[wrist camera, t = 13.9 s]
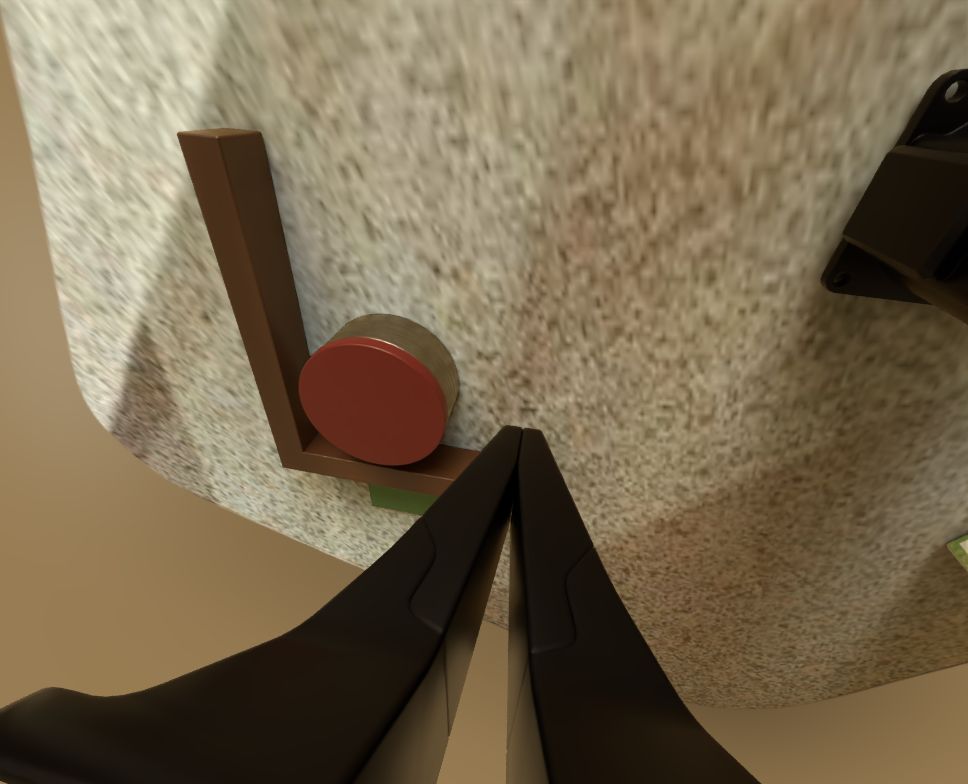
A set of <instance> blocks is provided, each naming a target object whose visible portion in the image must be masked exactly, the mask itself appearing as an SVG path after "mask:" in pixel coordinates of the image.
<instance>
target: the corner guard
mask: <svg viewBox="0 0 968 784" xmlns="http://www.w3.org/2000/svg"><path fill="white" fill-rule="evenodd" d="M177 136H178V139H179V143H180V146H181V149H182V152H183V155H184V158H185V161H186V164H187V168H188V171H189V174H190V177H191V180H192V183H193V186H194V190H195V193H196V196H197V199H198V202H199V205H200V208H201V211H202V215H203V218H204V221H205V224H206V227H207V230H208V233H209V237H210V240H211V243H212V246H213V249H214V252H215V255H216V258H217V262H218V265H219V268H220V271H221V274H222V277H223V280H224V284H225V287H226V290H227V293H228V296H229V299H230V302H231V305H232V309H233V312H234V315H235V318H236V321H237V324H238V327H239V331H240V334H241V337H242V340H243V343H244V346H245V349H246V352H247V356H248V359H249V362H250V365H251V368H252V371H253V374H254V378H255V381H256V384H257V387H258V390H259V393H260V396H261V399H262V403H263V406H264V409H265V412H266V415H267V418H268V421H269V425H270V428H271V431H272V434H273V437H274V440H275V443H276V446H277V450H278V454H279V457H280V460H281V463H282V466H283V467H284V468H289V469H295V470H300V471H305V472H310V473H316V474H321V475H326V476H332V477H337V478H342V479H348V480H353V481H358V482H363V483H369V484H374V485H379V486H385V487H390V488H395V489H401V490H406V491H411V492H416V493H422V494H427V495H432V496H438V497H439V496H440V495H441V494H442V493H443V492H444V491H445V490H446V489H447V488H448V487H449V486H450V484H451V483H452V482H453V481H454V480H455V479H456V478H457V477H458V476H459V475H460V474H461V472H462V471H463V470H464V469H465V468H466V467H467V466H468V465H469V464H470V463H471V462H472V461H473V459H474V458H475V457H476V456H477V455H478V454H479V453H480V452H478V451H473V450H467V449H461V448H456V447H450V446H444V445H438V446H437V448H436V449H435V450H434V451H433V452H432V453H431V454H429V455H428V456H426V457H425V458H423V459H421V460H419V461H416V462H413V463H410V464H405V465H381V464H376V463H371V462H367V461H364V460H361V459H359V458H356V457H354V456H352V455H350V454H348V453H346V452H344V451H342V450H341V449H339V448H337V447H336V446H335V445H333V444H332V443H331V442H329V441H328V440H327V439H326V438H325V437H324V436H323V435H322V434H321V433H320V432H319V431H318V430H317V429H316V428H315V426H314V425H313V424H312V423H311V421H310V420H309V418H308V416H307V415H306V413H305V411H304V408H303V406H302V403H301V400H300V395H299V379H300V375H301V372H302V369H303V367H304V365H305V363H306V362H307V361H308V360H309V358H310V356H309V352H308V347H307V342H306V338H305V333H304V328H303V324H302V319H301V314H300V310H299V305H298V300H297V296H296V291H295V286H294V282H293V277H292V272H291V268H290V263H289V259H288V254H287V249H286V245H285V240H284V235H283V231H282V226H281V221H280V217H279V212H278V207H277V203H276V198H275V193H274V189H273V184H272V179H271V175H270V170H269V165H268V161H267V156H266V151H265V147H264V142H263V138H262V134H261V132H259V131H250V130H240V129H230V128H219V129H207V130H195V131H183V132H178V133H177ZM512 506H513V505H512Z"/></svg>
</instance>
